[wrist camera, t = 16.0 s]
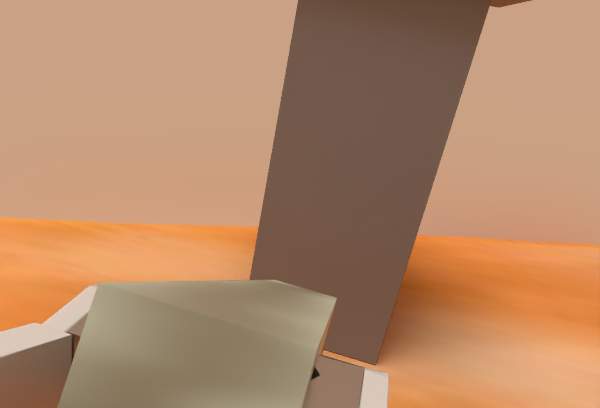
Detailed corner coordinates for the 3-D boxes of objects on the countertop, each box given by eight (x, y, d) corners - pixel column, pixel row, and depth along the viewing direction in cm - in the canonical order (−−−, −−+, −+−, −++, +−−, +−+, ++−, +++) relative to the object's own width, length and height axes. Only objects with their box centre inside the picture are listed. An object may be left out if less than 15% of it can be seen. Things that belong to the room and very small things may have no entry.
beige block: (322, 353, 25) (337, 297, 26) (258, 566, 7) (317, 349, 7) (259, 334, 26) (274, 279, 26) (32, 482, 7) (98, 282, 7)
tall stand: (405, 293, 44) (506, -16, 34) (403, 383, 33) (550, -36, 23) (260, 252, 45) (314, -52, 36) (211, 324, 35) (270, -87, 25)
